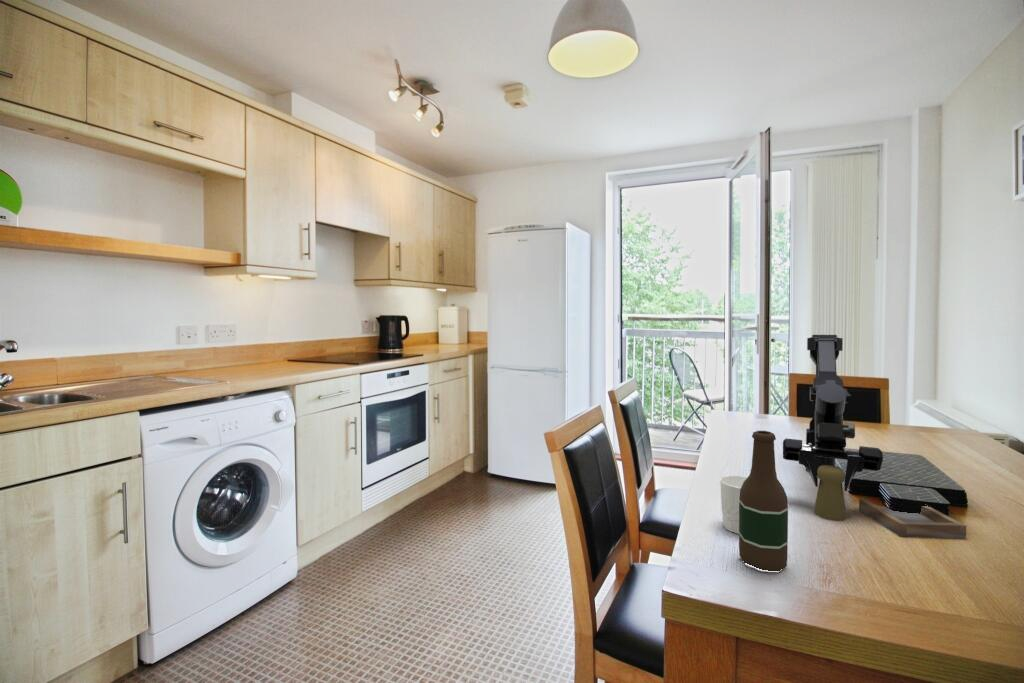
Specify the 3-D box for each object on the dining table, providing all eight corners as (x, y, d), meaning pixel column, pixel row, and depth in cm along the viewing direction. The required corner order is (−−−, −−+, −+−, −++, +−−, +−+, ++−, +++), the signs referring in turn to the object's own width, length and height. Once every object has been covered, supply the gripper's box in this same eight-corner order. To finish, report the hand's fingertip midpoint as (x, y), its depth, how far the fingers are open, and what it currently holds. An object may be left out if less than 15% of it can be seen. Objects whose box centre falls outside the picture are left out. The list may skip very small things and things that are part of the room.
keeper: (859, 509, 107) (859, 498, 107) (916, 511, 106) (916, 499, 106) (900, 536, 94) (900, 524, 94) (965, 538, 93) (966, 525, 93)
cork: (852, 521, 101) (853, 471, 101) (821, 519, 102) (821, 470, 102) (838, 510, 107) (839, 462, 107) (809, 508, 108) (810, 461, 108)
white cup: (758, 522, 102) (758, 477, 101) (764, 539, 94) (765, 490, 94) (718, 518, 104) (718, 473, 104) (721, 533, 97) (722, 486, 96)
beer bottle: (786, 579, 80) (788, 440, 79) (736, 566, 84) (737, 434, 83) (787, 558, 87) (789, 430, 85) (741, 548, 91) (742, 425, 89)
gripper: (783, 404, 112) (781, 463, 103) (882, 412, 102) (890, 477, 93) (783, 430, 119) (782, 487, 110) (876, 439, 109) (882, 502, 100)
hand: (831, 487), depth 103 cm, fingers closed on cork, 5 cm apart
